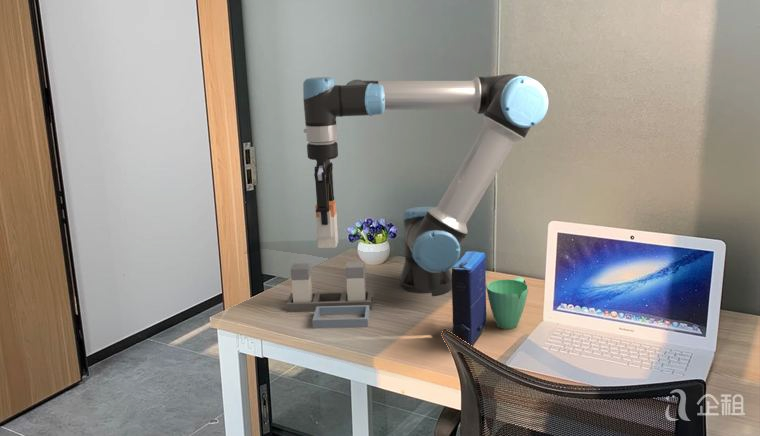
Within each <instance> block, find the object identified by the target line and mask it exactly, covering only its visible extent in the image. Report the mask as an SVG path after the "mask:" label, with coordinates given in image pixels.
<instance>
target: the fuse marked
mask: <svg viewBox="0 0 760 436" xmlns="http://www.w3.org/2000/svg"><path fill="white" fill-rule="evenodd" d="M314 207H315V218H316V220H315V221H316V234H317V236H316V237H317V248H318V249H329V248H330V249H332V248H333V249H335V248H337V246H338V244H339V232H338V229H339V228H338V214H337V213H338V212H337V200H333V201H329V211H330V215H331V232H332V236H331V237H321V235H320V220H319V212H316V210H317V203H315V206H314Z"/></svg>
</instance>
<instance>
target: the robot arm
mask: <svg viewBox="0 0 760 436" xmlns="http://www.w3.org/2000/svg"><path fill="white" fill-rule="evenodd" d="M302 87H303V88H302V89H303V91H302V92H303V93H302V94H303V99H302V100H303V111H304V123H305V128H304V129H303V133H305V134H306V141H307V145H306V152H307V153H306V154H307V158H308V159H309V160H311V161H312V160H315V161H316V165H315V166H314V173H313V175H314V181H315V195H316V204H317V210H316V209H315V213H316V212H319V220H320V235H321V237H331V236H332V232H331V215H330V211H329V201H335V196H334V195H335V194H334V192H335V191H334V180H333V177H334V176H333V170H334V167H333V165H334V164H333V162H331V160H334V159H336V158H338V156H339V149H338V145H339V144H338V142H337V140H338V125H337V124H338V123H337V118H339V117H341V118H343V117H356V116H357V117H358V116H359V117H361V116H363V117H364V116H370V117H372V116H377V115H378V116H379V115H382V114H384V113H385V110H387V111H388V110H391V111H392V110H395V111H397V110H399V111H402V110H405V111H408V110H412V111H420V110H421V111H423V110H424V111H436V110H437V111H439V110H440V111H445V110H446V111H449V110H450V111H472V113H473V114H478V115H480V114H481V115H482V114H483V116H482V117H483V123H484V126H483V128H482V129H481V131H480V133H479V135H478V136H477V138H476V140H475V141H474V143H473V144H472V145H471V148H470V150H469V151H468V153H467V155H466V157H465V158H464V160H463V162H462V163H461V165H460V167H459V169H458V170H457V172H456V174H455V176H454V178H453V179H452V181H451V182H450V184H449V186H448V188H446V190H445V192H444V194H443V196H442V198H440V199H441V200H440V201H439V203H438V205H437V206H418V207H410V208H407V209H406V210H404V212H403V219H402V222H403V231H404V232H403V237H404V238H403V239H404V240H403V241H404V257H405V258H404V264H403V267H402V271H401V273H400V274H401V275H400V278H399V286H400V288H401V289H403V291H407V292H411V293H416V294H431V296H439V295H442V294H446V293H448V292H450V291H452V270H451V269H452V267H453V266H454V265H455V264H456V263H457V262H458V261H459V260H460V259H459V258H460V255H461V245H462V243H463V241H464V240H465V238H466V236H467V234H468V227H467V223H468V221H469V219H470V218H471V217H472V215H473V213H474V212H475V209H476V208H477V206H478V204H479V203H480V201H481V199H482V198H483V196H484V195H485V193H486V191H487V189H488V188H489V187H490V184H491V183H492V181H493V180H494V178H495V176H496V175H497V173H498V171H499V169H500V168H501V166H502V164H503V162H504V161H505V159H506V157H507V156H508V154H509V153H510V151H511V149H512V147H513V146H514V144H515V143H516V142H518V141H519V142H520V141H522V140H524V139H525V138H526V137H527V134H528V132H529V131H530V130H531V128H532V127H534V126H536V125H538V124H539V123H541V121H542V120H543V119H544V117H545V116H546V114H547V112H548V109H549V97H548V93H547V90H546V88H545V87H544V86H543V85H542V84H541V82H539V81H538V80H536V79H534V78H531V77H529V76H525V75H518V74H511V73H509V74H499V75H491V76H475V77H474V78H473V79H472V80H363V79H352V80H350V81H348V82H347V83H346V84H344V85H343V84H342V85H340V84H339V85H338V84H335V79H334V78H333V77H328V76H325V77H320V76H319V77H309V78H306V79H305V80H304V81H303V83H302Z"/></svg>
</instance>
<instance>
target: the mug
mask: <svg viewBox="0 0 760 436" xmlns="http://www.w3.org/2000/svg"><path fill="white" fill-rule="evenodd" d="M528 292H529V286H528V284H526V280H525V278H523V277H521V276H520V277H519V276H518V277H516V278H515V279H497V280H493V281H490V282H488V283H487V285H486V294H487V297H488V302H489V306H490V309H491V313H492V315H493V318H494V321H495V324H496V326H497V327H499V328H501V329H504V330H510V329H515V328H517V326H518V324H519V322H520V320H521V317H522V315H523V313H524V308H525V305H526V301H527V297H528Z"/></svg>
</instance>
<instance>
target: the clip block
mask: <svg viewBox="0 0 760 436" xmlns="http://www.w3.org/2000/svg"><path fill="white" fill-rule="evenodd" d="M312 296H313V301H312V302H296V303H293V293H290V294H289V297H288V300H287V301H286V304H285V306H286V310H285V313H315V310H316V307H318V306H353V305H369V308H370V311H373V303H374V296H373V291H372V290H366V300H365V301H348V295H347V291H321V292H320V291H319V292H318V291H317V292H312Z"/></svg>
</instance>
